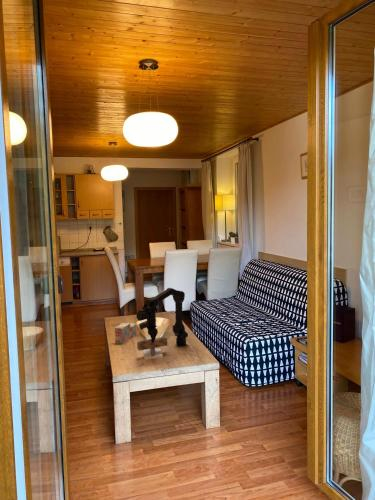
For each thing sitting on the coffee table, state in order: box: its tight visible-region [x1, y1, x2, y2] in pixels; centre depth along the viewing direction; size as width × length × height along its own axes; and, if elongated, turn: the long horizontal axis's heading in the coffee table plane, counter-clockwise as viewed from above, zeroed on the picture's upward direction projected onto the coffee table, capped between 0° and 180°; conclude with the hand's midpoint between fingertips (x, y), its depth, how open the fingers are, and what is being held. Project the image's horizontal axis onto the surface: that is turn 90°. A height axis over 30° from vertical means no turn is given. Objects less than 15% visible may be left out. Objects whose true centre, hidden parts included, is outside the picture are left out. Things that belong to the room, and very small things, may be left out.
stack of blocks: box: [114, 322, 137, 345], centre depth 298 cm, size 21×6×12 cm, turn 159°
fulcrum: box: [142, 347, 164, 360], centre depth 265 cm, size 12×14×6 cm
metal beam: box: [136, 336, 168, 351], centre depth 265 cm, size 20×4×5 cm, turn 116°
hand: (152, 340), depth 264 cm, fingers open, 9 cm apart
